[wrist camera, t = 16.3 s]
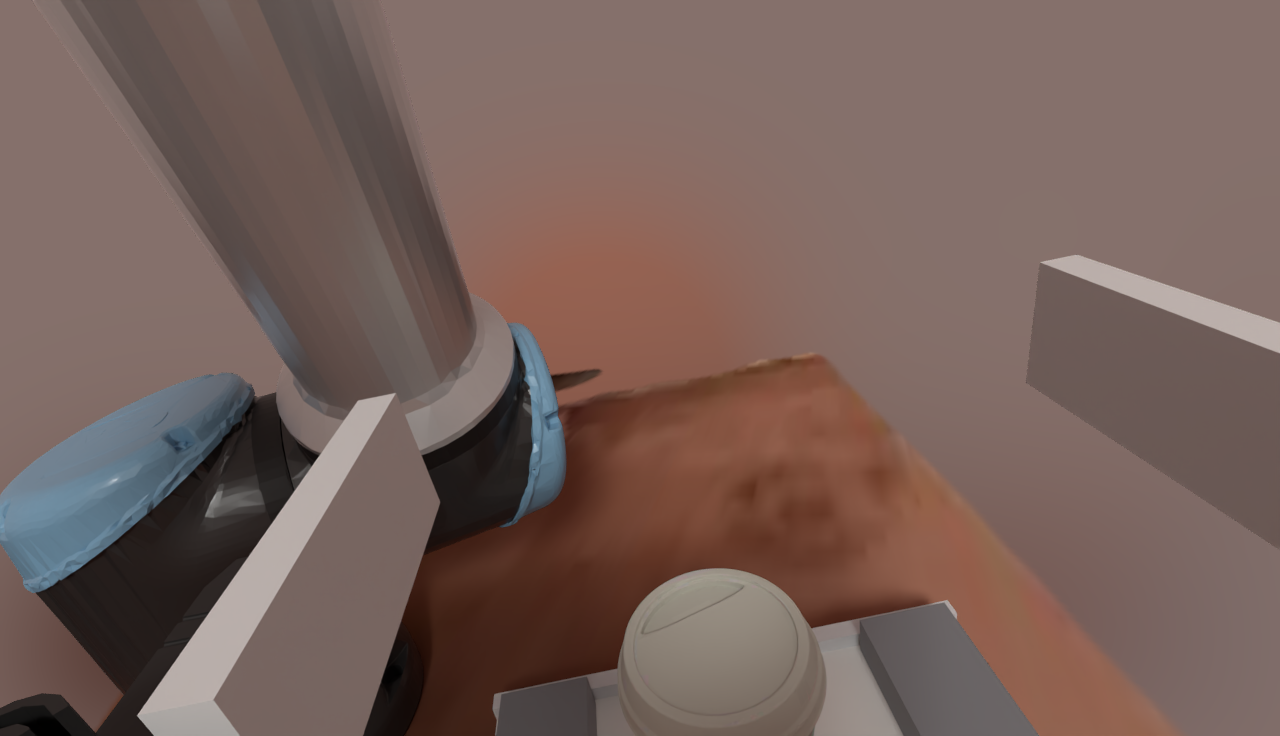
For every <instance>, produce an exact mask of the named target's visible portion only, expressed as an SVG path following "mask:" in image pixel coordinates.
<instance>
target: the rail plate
mask: <svg viewBox="0 0 1280 736" xmlns="http://www.w3.org/2000/svg"><path fill="white" fill-rule="evenodd" d="M811 629H812V631H813V632H814V634H815V636H816V639H817V641H818V644H819V647H820V650H821V653H822V656H823V659H824V663H825V668H826V678H827V687H826V696H825V701H824V705H823V709H822V712H821V714H820V717H819V719H818V721H817V723H816V725H815V729H814V736H1039V735H1038V733H1037V732H1036V731H1035V729H1034V728H1033V726H1032V725H1031V724H1030V722H1029V721H1028V719H1027V718H1026V717H1025V715H1024V714H1023V712H1022V711H1021V710H1020V708H1019V707H1018V705H1017V704H1016V702H1015V701H1014V700H1013V698H1012V697H1011V695H1010V694H1009V693H1008V691H1007V690H1006V688H1005V687H1004V686H1003V684H1002V683H1001V681H1000V680H999V679H998V677H997V676H996V674H995V673H994V672H993V670H992V669H991V667H990V666H989V665H988V663H987V662H986V660H985V659H984V657H983V656H982V655H981V653H980V652H979V650H978V649H977V648H976V646H975V645H974V643H973V642H972V641H971V639H970V638H969V636H968V635H967V634H966V632H965V631H964V629H963V628H962V627H961V625H960V624H959V622H958V621H957V613H956V611H955V610H954V608H953V607H952V606H951V604H950V603H949V601H948V600H946V601H941V602H936V603H932V604H927V605H922V606H917V607H912V608H908V609H903V610H898V611H893V612H888V613H883V614H879V615H874V616H869V617H864V618H859V619H854V620H850V621H845V622H840V623H835V624H830V625H825V626H821V627H816V628H811ZM617 671H618V669H613V670H608V671H603V672H599V673H594V674H589V675H584V676H579V677H575V678H570V679H565V680H560V681H555V682H550V683H546V684H541V685H536V686H531V687H526V688H521V689H517V690H512V691H507V692H502V693H497V694H494V701H493V708H492V710H493V712H494V715H495V717H496V719H497V725H496V732H495V736H635V734H634V733H633V732H632V730H631V728H630V727H629V725H628V723H627V721H626V719H625V717H624V714H623V712H622V709H621V705H620V701H619V696H618V676H617Z"/></svg>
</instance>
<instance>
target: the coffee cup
mask: <svg viewBox="0 0 1280 736" xmlns="http://www.w3.org/2000/svg"><path fill="white" fill-rule="evenodd" d="M617 676H618V696H619V701H620V705H621V709H622V712H623V714H624V717H625V719H626V721H627V723H628V725H629V727H630V728H631V730H632V732H633V733H634V734H635V736H814V729H815V725H816V723H817V721H818V719H819V717H820V714H821V712H822V709H823V705H824V701H825V696H826V687H827V678H826V668H825V663H824V659H823V656H822V653H821V650H820V647H819V644H818V641H817V639H816V636H815V634H814V632H813V631H812V629H811V627H810V626H809V624H808V623H807V621H806V620H805V618H804V617H803V616H802V614H801V612H800V610H799V609H798V607H797V606H796V605H795V603H794V602H793V600H792V599H791V598H790V597H789V596H788V595H787V594H786V593H785V592H783V591H782V590H781V589H780V588H779V587H777V586H776V585H774V584H773V583H771V582H769V581H768V580H766V579H764V578H761V577H759V576H757V575H754V574H751V573H748V572H744V571H740V570H735V569H726V568H712V569H702V570H697V571H692V572H689V573H685V574H682V575H680V576H677V577H675V578H673V579H671V580H669V581H667V582H665V583H663V584H662V585H660V586H659V587H657V588H656V589H655V590H653V591H652V592H651V593H650V594H649V595H648V596H647V597H646V598H645V599H644V600H643V601H642V602H641V603H640V604H639V606H638V607H637V609H636V610H635V612H634V613H633V615H632V617H631V619H630V621H629V623H628V625H627V628H626V632H625V636H624V641H623V644H622V647H621V650H620V654H619V659H618V671H617Z"/></svg>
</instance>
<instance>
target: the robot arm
mask: <svg viewBox="0 0 1280 736" xmlns="http://www.w3.org/2000/svg"><path fill="white" fill-rule="evenodd" d="M32 2H33V3H34V4H35V6H36V7H37V9H38V10H39V12H40V13H41V14H42V16H43V17H44V19H45V20H46V22H47V23H48V25H49V26H50V27H51V29H52V30H53V32H54V33H55V35H56V36H57V37H58V39H59V40H60V42H61V43H62V45H63V46H64V47H65V49H66V50H67V52H68V53H69V55H70V56H71V57H72V59H73V60H74V62H75V63H76V65H77V66H78V67H79V69H80V70H81V72H82V73H83V75H84V76H85V77H86V79H87V80H88V82H89V83H90V84H91V86H92V87H93V89H94V90H95V92H96V93H97V95H98V96H99V98H100V99H101V100H102V102H103V103H104V105H105V106H106V108H107V109H108V110H109V112H110V113H111V115H112V116H113V117H114V119H115V120H116V122H117V123H118V125H119V126H120V128H121V129H122V131H123V132H124V133H125V135H126V136H127V138H128V139H129V141H130V142H131V143H132V145H133V146H134V147H135V149H136V150H137V152H138V153H139V155H140V156H141V158H142V159H143V160H144V162H145V163H146V165H147V166H148V168H149V169H150V171H151V172H152V173H153V175H154V176H155V178H156V179H157V181H158V182H159V184H160V185H161V186H162V188H163V189H164V191H165V192H166V194H167V195H168V196H169V198H170V199H171V201H172V202H173V203H174V205H175V206H176V208H177V209H178V211H179V212H180V214H181V215H182V216H183V218H184V219H185V221H186V222H187V223H188V225H189V226H190V228H191V229H192V231H193V232H194V234H195V235H196V237H197V238H198V239H199V241H200V242H201V244H202V245H203V247H204V248H205V249H206V251H207V252H208V254H209V255H210V256H211V258H212V259H213V261H214V262H215V264H216V265H217V267H218V268H219V269H220V271H221V272H222V274H223V275H224V277H225V278H226V279H227V281H228V282H229V284H230V285H231V287H232V288H233V289H234V291H235V292H236V294H237V295H238V297H239V298H240V300H241V301H242V302H243V304H244V305H245V307H246V308H247V309H248V311H249V312H250V314H251V315H252V316H253V318H254V319H255V321H256V322H257V324H258V325H259V327H260V328H261V329H262V331H263V332H264V334H265V335H266V337H267V338H268V340H269V341H270V343H271V344H272V345H273V347H274V348H275V350H276V351H277V352H278V354H279V355H280V357H281V358H282V360H283V361H284V364H283V366H282V369H281V372H280V375H279V378H278V384H277V390H276V393H272V394H269V395H265V396H260V397H256V396H254V395H255V392H254V389H253V387H252V385H251V384H249V383H247V382H245V380H244V379H243V378H241V377H240V376H238V375H236V374H233V373H220V374H218V375H204V376H201V377H197V378H194V379H190V380H187V381H184V382H182V383H178V384H176V385H173V386H170V387H168V388H165V389H163V390H160V391H158V392H156V393H153V394H151V395H149V396H147V397H145V398H142V399H140V400H138V401H136V402H134V403H132V404H129V405H127V406H125V407H123V408H121V409H119V410H117V411H115V412H113V413H111V414H109V415H107V416H106V417H104V418H102V419H100V420H98V421H96V422H95V423H93V424H91V425H89V426H88V427H86V428H84V429H82V430H81V431H79V432H77V433H76V434H74V435H72V436H71V437H69V438H67V439H66V440H64V441H63V442H61V443H60V444H58V445H57V446H55V447H54V448H52V449H51V450H49V451H48V452H47V453H45V454H44V455H43V456H41V457H39V458H38V459H37V460H35V461H34V462H33V463H32V464H31V465H29V466H28V467H27V468H25V469H24V470H23V471H22V472H21V473H20V474H19V475H18V476H17V477H16V478H15V479H14V480H13V481H12V482H11V483H10V484H9V485H8V486H7V487H6V488H5V489H4V491H3V492H2V493H1V495H0V544H1V545H2V546H3V548H4V550H5V551H6V552H7V554H8V556H9V557H10V559H11V560H12V562H13V563H14V565H15V566H16V568H17V569H18V571H19V572H20V574H21V576H22V577H23V584H24V586H25V588H26V589H27V590H29V591H31V592H32V593H36V594H37V595H38V596H39V597H40V598H41V599H42V600H43V602H44V603H45V604H46V605H47V606H48V607H49V609H50V610H51V611H52V612H53V613H54V614H55V615H56V617H57V618H58V619H59V620H60V621H61V622H62V623H63V625H64V626H65V627H66V628H67V629H68V630H69V632H70V633H71V634H72V635H73V636H74V638H75V639H76V640H77V641H78V642H79V643H80V645H81V646H82V647H83V648H84V649H85V650H86V652H87V653H88V654H89V655H90V656H91V657H92V658H93V660H94V661H95V662H96V663H97V664H98V666H99V667H100V668H101V669H102V670H103V672H104V673H105V674H106V675H107V676H108V677H109V679H110V680H111V681H112V682H113V683H114V684H115V685H116V687H117V688H118V689H119V690H120V691H121V693H122V694H123V695H124V696H123V697H122V699H121V700H120V701H119V703H118V704H117V705H116V707H115V708H114V709H113V711H112V712H111V713H110V715H109V716H108V717H107V719H106V720H105V721H104V723H103V724H102V725H101V727H100V728H99V729H98V731H97V732H96V733H95V732H94V731H93V730H92V729H91V728H90V726H88V724H87V723H86V722H85V721H84V720H83V719H82V718H81V717H80V715H79V714H78V713H77V712H76V711H75V710H74V709H73V708H72V707H71V706H70V704H69V703H68V702H67V701H66V700H65V699H64V698H63V697H62V696H61V695H56V694H39V695H35V696H32V697H28V698H25V699H21V700H17V701H14V702H12V703H10V704H8V705H6V706H4V707H2V708H0V736H403V735H404V733H405V731H406V730H407V728H408V726H409V724H410V722H411V720H412V718H413V715H414V713H415V710H416V708H417V705H418V702H419V698H420V694H421V689H422V683H423V666H422V660H421V657H420V654H419V651H418V649H417V647H416V645H415V643H414V641H413V639H412V637H411V635H410V633H409V631H408V630H407V628H406V627H405V625H404V624H403V623H402V622H401V619H402V616H403V613H404V610H405V607H406V604H407V601H408V598H409V595H410V592H411V589H412V586H413V583H414V580H415V577H416V574H417V571H418V568H419V565H420V562H421V559H422V556H423V555H425V554H428V553H430V552H433V551H435V550H438V549H441V548H443V547H446V546H449V545H451V544H454V543H456V542H459V541H462V540H464V539H467V538H469V537H472V536H475V535H477V534H480V533H482V532H485V531H488V530H490V529H493V528H496V527H500V528H501V527H507V526H510V525H513V524H515V523H516V522H517V521H518V520H519V519H520V518H521V517H523V516H526V515H528V514H530V513H532V512H534V511H537V510H539V509H541V508H543V507H546V506H547V505H549V504H550V503H552V502H553V501H554V500H555V499H556V498H557V496H558V495H559V494H560V492H561V490H562V488H563V485H564V481H565V475H566V447H565V438H564V432H563V427H562V424H561V422H560V419H559V418H558V403H557V397H556V393H555V389H554V386H553V382H552V379H551V376H550V372H549V369H548V366H547V363H546V361H545V358H544V356H543V354H542V351H541V349H540V347H539V345H538V343H537V341H536V339H535V337H534V336H533V334H532V333H531V332H530V330H529V329H528V328H527V327H525V326H524V325H522V324H519V323H506V321H505V320H504V319H503V317H502V316H501V315H500V313H499V312H498V311H497V310H496V309H495V308H494V307H493V306H492V305H491V304H489V303H488V302H486V301H485V300H483V299H482V298H480V297H478V296H476V295H474V294H472V293H469V292H468V289H467V286H466V283H465V279H464V276H463V273H462V269H461V266H460V263H459V259H458V256H457V253H456V249H455V246H454V243H453V239H452V236H451V233H450V229H449V226H448V223H447V219H446V216H445V212H444V209H443V206H442V203H441V199H440V196H439V193H438V189H437V186H436V182H435V179H434V176H433V172H432V169H431V166H430V162H429V159H428V155H427V152H426V149H425V145H424V143H423V139H422V136H421V132H420V129H419V125H418V122H417V119H416V115H415V112H414V109H413V105H412V102H411V99H410V95H409V92H408V89H407V85H406V82H405V79H404V76H403V72H402V68H401V65H400V62H399V59H398V55H397V52H396V48H395V45H394V42H393V38H392V35H391V32H390V28H389V25H388V22H387V18H386V15H385V11H384V8H383V5H382V1H381V0H32ZM1035 300H1036V301H1035V308H1034V317H1033V325H1032V334H1031V343H1030V352H1029V360H1028V369H1027V378H1026V383H1027V384H1029V385H1030V386H1032V387H1034V388H1035V389H1037V390H1038V391H1039V392H1041V393H1042V394H1044V395H1046V396H1047V397H1049V398H1050V399H1052V400H1053V401H1055V402H1056V403H1058V404H1059V405H1061V406H1062V407H1064V408H1065V409H1067V410H1068V411H1070V412H1071V413H1073V414H1074V415H1076V416H1077V417H1079V418H1080V419H1082V420H1084V421H1085V422H1086V423H1088V424H1090V425H1091V426H1093V427H1094V428H1096V429H1097V430H1099V431H1100V432H1102V433H1103V434H1105V435H1106V436H1108V437H1109V438H1111V439H1112V440H1114V441H1115V442H1117V443H1118V444H1120V445H1121V446H1123V447H1124V448H1126V449H1127V450H1129V451H1130V452H1132V453H1133V454H1135V455H1137V456H1138V457H1140V458H1141V459H1143V460H1144V461H1146V462H1147V463H1149V464H1150V465H1152V466H1153V467H1155V468H1156V469H1158V470H1160V471H1161V472H1162V473H1164V474H1165V475H1167V476H1168V477H1170V478H1171V479H1173V480H1174V481H1176V482H1177V483H1179V484H1181V485H1182V486H1184V487H1185V488H1187V489H1188V490H1190V491H1191V492H1193V493H1194V494H1196V495H1197V496H1199V497H1200V498H1202V499H1203V500H1205V501H1206V502H1208V503H1209V504H1211V505H1212V506H1214V507H1216V508H1217V509H1218V510H1220V511H1222V512H1223V513H1225V514H1226V515H1227V516H1229V517H1231V518H1232V519H1234V520H1235V521H1237V522H1238V523H1240V524H1241V525H1243V526H1244V527H1246V528H1247V529H1249V530H1250V531H1252V532H1253V533H1255V534H1256V535H1258V536H1259V537H1261V538H1263V539H1264V540H1265V541H1267V542H1268V543H1270V544H1271V545H1273V546H1274V547H1276V548H1278V549H1279V550H1280V323H1279V322H1276V321H1273V320H1270V319H1267V318H1264V317H1261V316H1257V315H1255V314H1252V313H1249V312H1245V311H1243V310H1240V309H1237V308H1234V307H1231V306H1228V305H1225V304H1222V303H1219V302H1216V301H1213V300H1210V299H1207V298H1204V297H1201V296H1198V295H1195V294H1192V293H1189V292H1186V291H1183V290H1180V289H1177V288H1174V287H1171V286H1168V285H1165V284H1163V283H1159V282H1157V281H1153V280H1151V279H1148V278H1144V277H1142V276H1139V275H1136V274H1133V273H1130V272H1127V271H1124V270H1121V269H1118V268H1115V267H1112V266H1109V265H1106V264H1103V263H1100V262H1097V261H1094V260H1091V259H1088V258H1085V257H1082V256H1079V255H1073V256H1069V257H1064V258H1059V259H1054V260H1049V261H1044V262H1040V265H1039V273H1038V282H1037V291H1036V299H1035Z"/></svg>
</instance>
